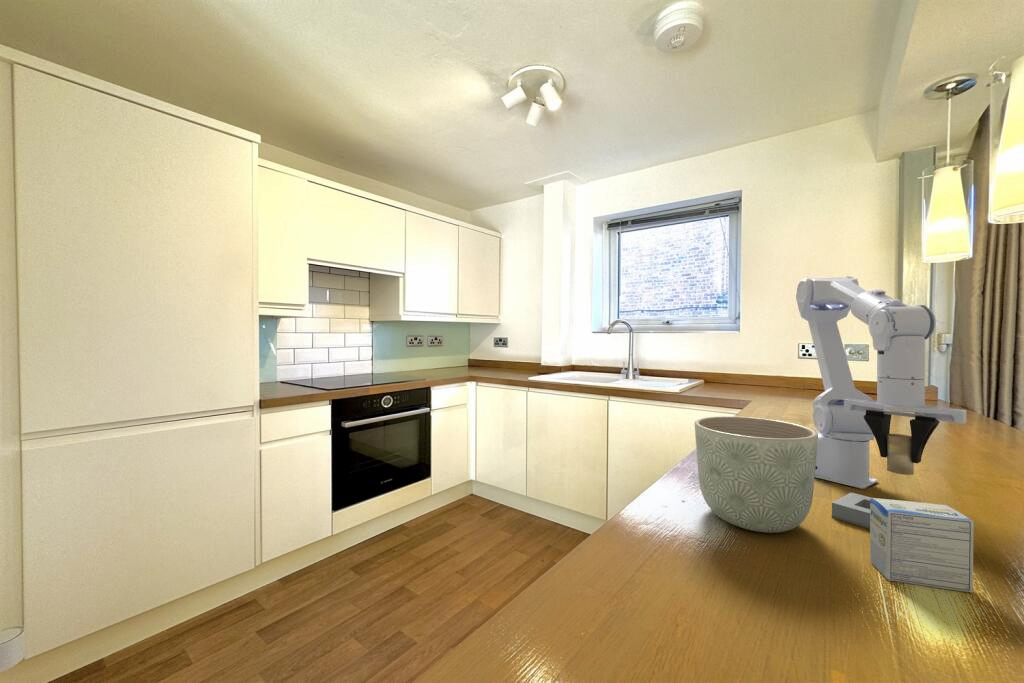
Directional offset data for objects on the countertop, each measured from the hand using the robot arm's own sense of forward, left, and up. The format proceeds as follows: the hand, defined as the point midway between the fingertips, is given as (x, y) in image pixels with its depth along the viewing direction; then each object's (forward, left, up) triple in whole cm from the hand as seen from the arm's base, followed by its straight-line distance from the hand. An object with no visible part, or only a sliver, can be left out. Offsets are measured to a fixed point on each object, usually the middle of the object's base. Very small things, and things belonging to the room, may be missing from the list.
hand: (900, 459), depth 67 cm
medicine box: (+7, -22, -9) cm, 25 cm away
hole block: (-1, -7, -9) cm, 12 cm away
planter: (-12, -23, -9) cm, 28 cm away
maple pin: (0, 0, -2) cm, 2 cm away
